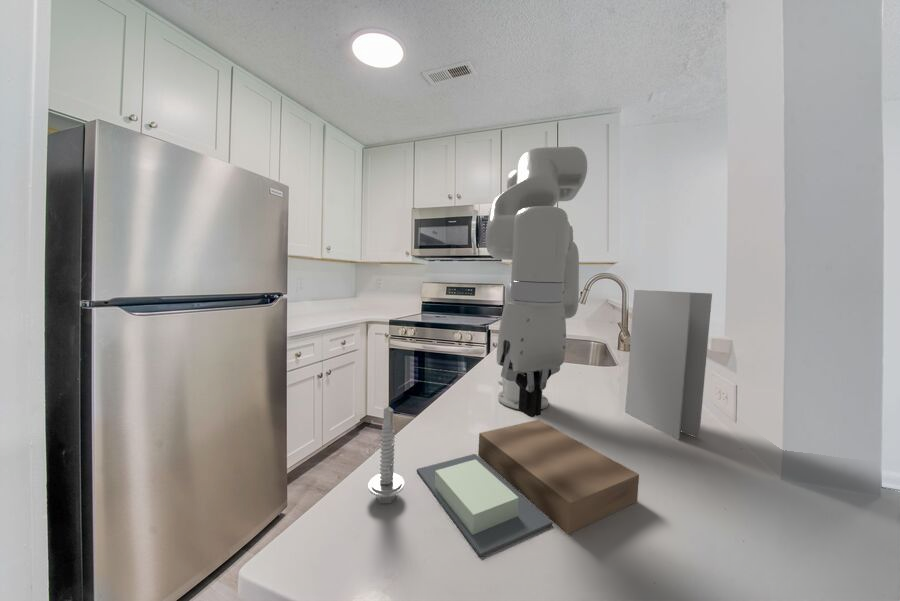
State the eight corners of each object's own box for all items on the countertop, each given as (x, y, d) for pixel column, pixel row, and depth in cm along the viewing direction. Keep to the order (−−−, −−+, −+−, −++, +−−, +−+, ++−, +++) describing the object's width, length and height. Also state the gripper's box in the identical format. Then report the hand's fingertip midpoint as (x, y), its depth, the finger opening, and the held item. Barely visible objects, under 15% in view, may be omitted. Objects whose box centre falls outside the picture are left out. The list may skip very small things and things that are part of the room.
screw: (402, 509, 43) (365, 510, 43) (404, 486, 48) (371, 487, 48) (405, 413, 43) (367, 413, 42) (407, 400, 47) (373, 399, 47)
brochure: (699, 438, 68) (712, 293, 66) (678, 440, 67) (691, 292, 65) (643, 410, 82) (653, 290, 80) (625, 412, 80) (634, 289, 78)
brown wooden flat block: (478, 455, 58) (479, 433, 57) (537, 439, 64) (538, 419, 64) (568, 534, 40) (570, 503, 40) (637, 501, 47) (639, 474, 47)
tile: (475, 459, 51) (474, 474, 51) (435, 470, 48) (434, 487, 48) (518, 497, 42) (517, 516, 42) (473, 514, 39) (472, 534, 39)
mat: (416, 471, 52) (416, 468, 52) (474, 456, 57) (475, 453, 57) (479, 557, 36) (480, 553, 36) (552, 525, 42) (552, 522, 42)
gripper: (554, 291, 55) (547, 396, 57) (479, 292, 48) (474, 412, 50) (592, 295, 49) (583, 414, 51) (512, 297, 42) (505, 435, 43)
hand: (529, 412), depth 50 cm, fingers closed
